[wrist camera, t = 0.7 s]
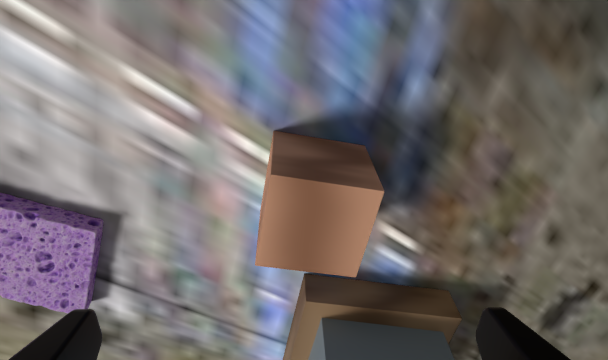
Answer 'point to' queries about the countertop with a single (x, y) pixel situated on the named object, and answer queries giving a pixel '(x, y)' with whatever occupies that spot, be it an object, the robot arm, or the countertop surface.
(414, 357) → the slate top slab
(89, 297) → the sponges
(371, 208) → the terracotta block
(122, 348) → the countertop surface
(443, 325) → the walnut base slab
